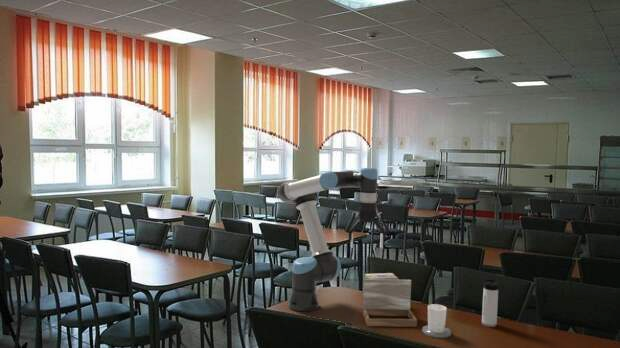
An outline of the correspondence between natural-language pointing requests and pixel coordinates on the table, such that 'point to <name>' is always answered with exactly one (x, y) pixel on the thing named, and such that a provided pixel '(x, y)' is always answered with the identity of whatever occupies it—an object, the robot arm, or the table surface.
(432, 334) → the slate saucer
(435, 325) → the white cup
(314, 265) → the robot arm
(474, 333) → the table surface
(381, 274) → the tea box
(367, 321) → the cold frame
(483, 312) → the travel mug
